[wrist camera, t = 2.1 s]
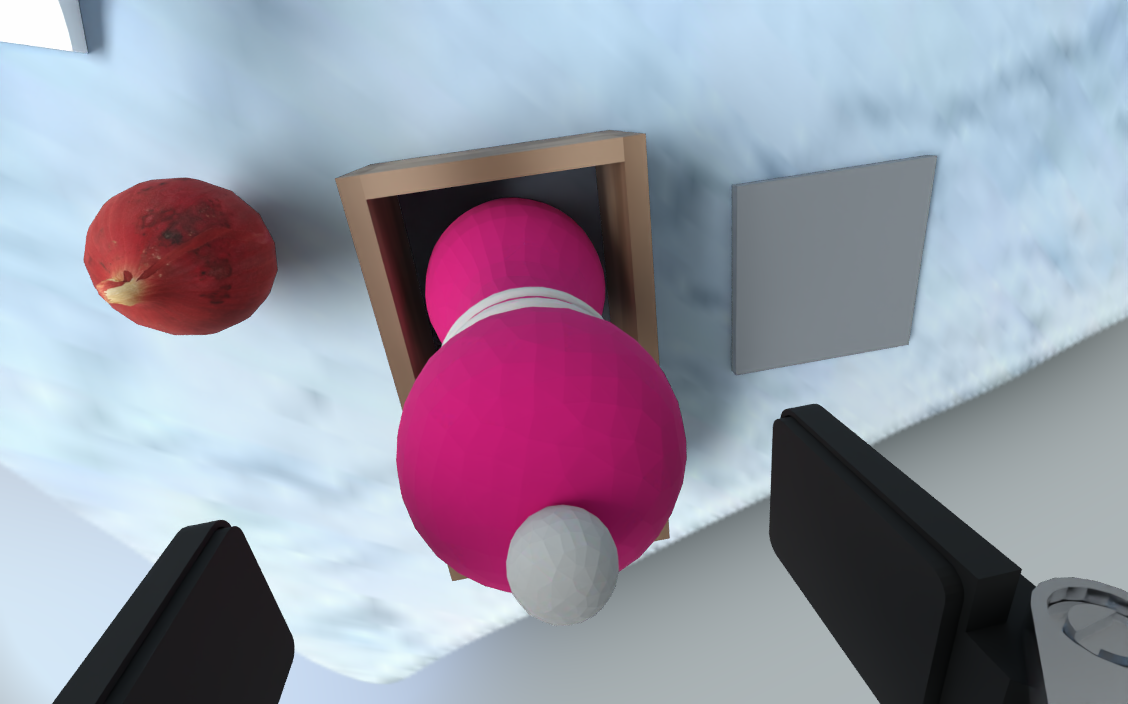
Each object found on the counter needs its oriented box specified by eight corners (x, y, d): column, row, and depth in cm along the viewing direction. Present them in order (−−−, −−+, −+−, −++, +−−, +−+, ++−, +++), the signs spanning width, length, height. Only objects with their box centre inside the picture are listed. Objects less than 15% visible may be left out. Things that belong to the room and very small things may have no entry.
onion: (209, 138, 22) (74, 149, 15) (328, 236, 24) (260, 287, 17) (130, 239, 23) (-31, 295, 16) (251, 324, 25) (157, 408, 18)
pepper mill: (603, 206, 25) (897, 431, 7) (565, 345, 28) (711, 769, 10) (448, 167, 24) (324, 331, 6) (424, 318, 26) (284, 764, 8)
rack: (609, 130, 24) (645, 133, 19) (637, 465, 32) (669, 538, 26) (370, 164, 23) (334, 178, 18) (458, 499, 31) (452, 581, 25)
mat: (927, 154, 26) (937, 155, 26) (900, 340, 31) (908, 344, 30) (731, 184, 26) (737, 186, 25) (731, 370, 30) (736, 375, 29)
